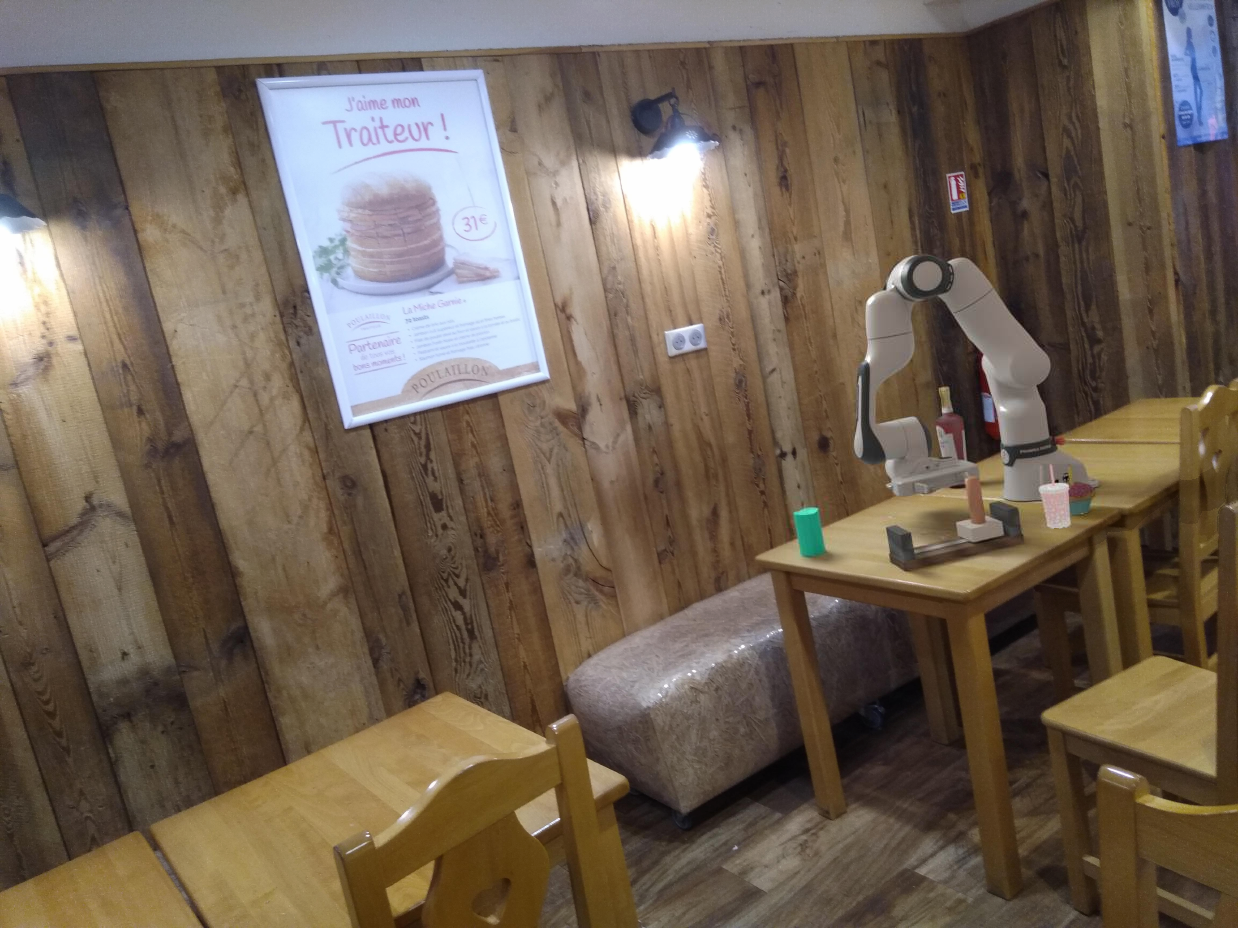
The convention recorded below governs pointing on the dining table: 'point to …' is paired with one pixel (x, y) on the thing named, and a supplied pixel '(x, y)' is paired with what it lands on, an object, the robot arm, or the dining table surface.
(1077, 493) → the cupcake
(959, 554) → the rail
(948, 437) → the liquor
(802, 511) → the candle
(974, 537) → the peach cylinder post
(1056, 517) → the beverage cup
